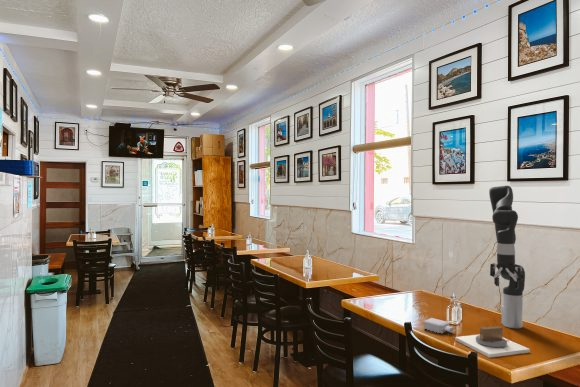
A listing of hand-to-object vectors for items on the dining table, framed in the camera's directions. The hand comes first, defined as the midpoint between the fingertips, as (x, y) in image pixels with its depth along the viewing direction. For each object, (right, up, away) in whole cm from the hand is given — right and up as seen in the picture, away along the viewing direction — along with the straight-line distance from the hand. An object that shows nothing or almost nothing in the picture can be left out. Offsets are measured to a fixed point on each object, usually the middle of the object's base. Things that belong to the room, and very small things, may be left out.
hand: (506, 287), depth 194 cm
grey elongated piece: (-24, -27, +19) cm, 41 cm away
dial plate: (-8, -27, -2) cm, 28 cm away
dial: (-8, -25, -2) cm, 27 cm away
